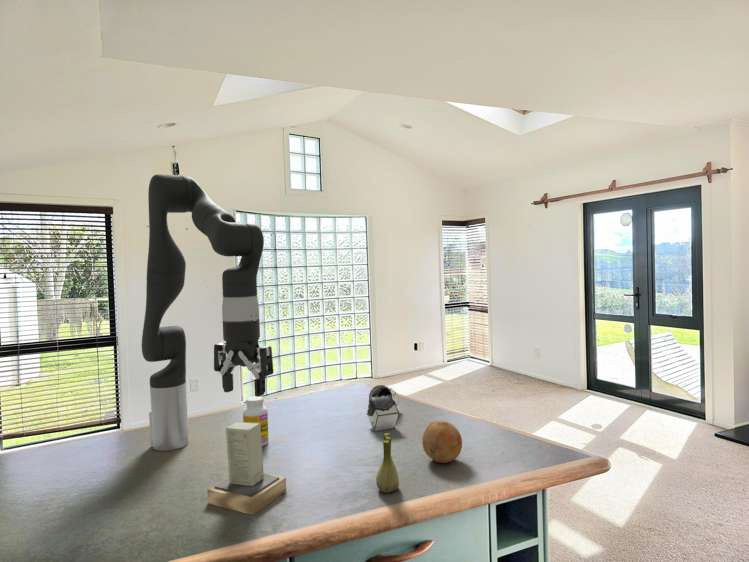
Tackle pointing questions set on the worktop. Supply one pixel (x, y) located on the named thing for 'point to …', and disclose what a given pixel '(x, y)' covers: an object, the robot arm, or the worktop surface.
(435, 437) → the onion
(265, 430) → the supplement bottle
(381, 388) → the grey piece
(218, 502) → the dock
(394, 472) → the fennel bulb
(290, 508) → the worktop surface
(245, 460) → the skincare box
